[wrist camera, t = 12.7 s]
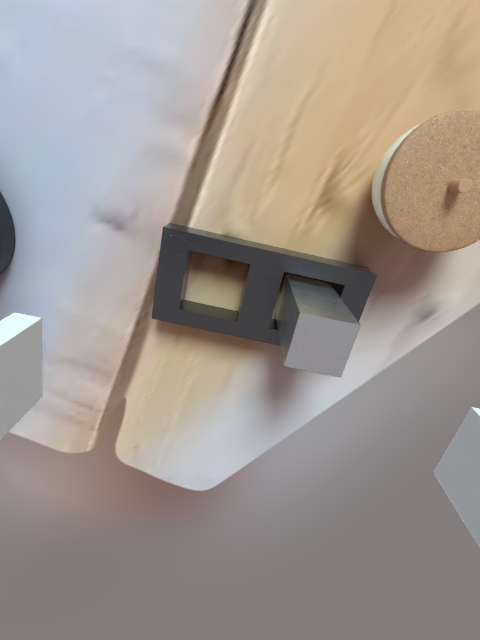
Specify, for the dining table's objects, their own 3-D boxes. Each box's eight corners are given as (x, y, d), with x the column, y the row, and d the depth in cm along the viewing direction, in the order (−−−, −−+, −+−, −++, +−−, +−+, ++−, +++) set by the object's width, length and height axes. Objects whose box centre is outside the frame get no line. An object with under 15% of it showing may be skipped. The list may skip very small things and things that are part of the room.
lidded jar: (487, 138, 33) (572, 123, 24) (438, 248, 37) (496, 269, 28) (380, 110, 32) (427, 85, 23) (342, 225, 36) (371, 240, 28)
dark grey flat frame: (158, 308, 40) (151, 318, 38) (169, 223, 37) (163, 226, 34) (338, 346, 42) (344, 358, 39) (367, 267, 38) (376, 274, 35)
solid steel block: (275, 314, 40) (284, 366, 29) (286, 273, 38) (300, 312, 27) (316, 323, 40) (340, 377, 29) (329, 283, 39) (360, 325, 28)
